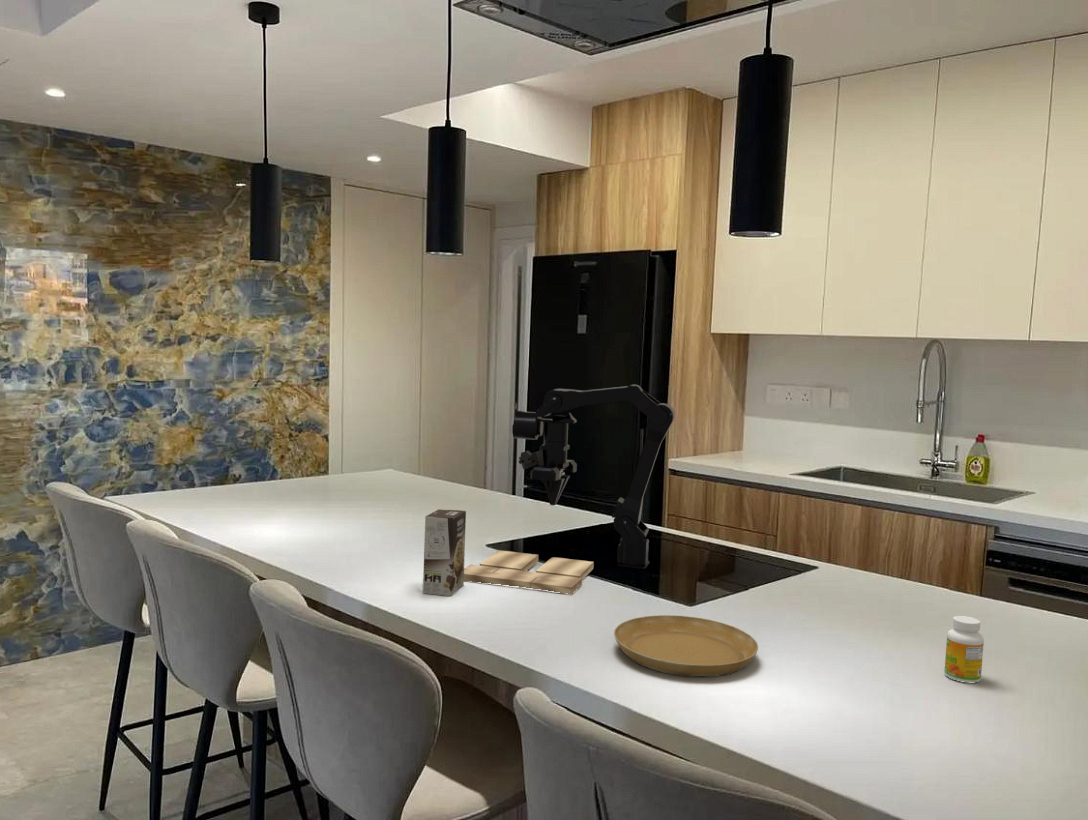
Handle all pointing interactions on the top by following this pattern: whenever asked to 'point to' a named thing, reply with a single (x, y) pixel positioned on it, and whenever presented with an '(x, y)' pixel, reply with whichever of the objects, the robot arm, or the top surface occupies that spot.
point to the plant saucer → (685, 645)
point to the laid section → (522, 579)
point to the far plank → (511, 560)
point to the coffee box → (444, 552)
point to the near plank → (566, 567)
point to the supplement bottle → (964, 650)
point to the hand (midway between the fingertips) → (553, 504)
